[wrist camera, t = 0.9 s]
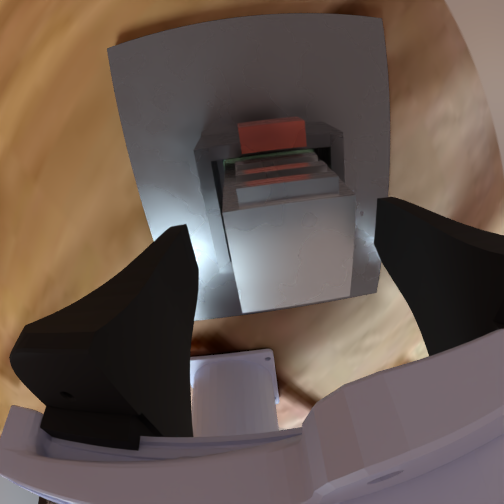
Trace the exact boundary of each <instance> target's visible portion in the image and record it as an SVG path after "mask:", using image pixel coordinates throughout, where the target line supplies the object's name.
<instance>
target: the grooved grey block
mask: <svg viewBox="0 0 504 504" xmlns="http://www.w3.org/2000/svg"><path fill="white" fill-rule="evenodd" d="M223 165H224V171H225V174H224V190H223V208H222V214H223V219H224V224H225V229H226V235H227V240H228V245H229V250H230V255H231V260H232V265H233V270H234V274H235V279H236V284H237V289H238V294H239V299H240V303H241V308H242V313H248V312H255V311H262V310H269V309H276V308H282V307H289V306H295V305H302V304H308V303H314V302H320V301H325V300H331V299H337V298H342V297H348V296H350V288H351V277H352V265H353V251H354V234H355V211H356V195H355V194H354V193H353V192H352V191H351V190H350V189H349V188H348V187H347V185H346V184H345V183H344V182H343V181H342V180H341V179H340V178H339V176H338V175H337V174H336V173H335V172H334V171H332V170H331V169H330V168H329V167H328V166H327V164H326V163H325V162H324V161H322V160H320V159H319V158H318V157H317V155H316V154H315V153H314V149H313V148H309V149H299V150H289V151H280V152H272V153H264V154H256V155H249V156H242V157H235V158H229V159H223Z"/></svg>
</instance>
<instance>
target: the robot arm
mask: <svg viewBox="0 0 504 504" xmlns="http://www.w3.org/2000/svg"><path fill="white" fill-rule="evenodd" d="M374 246H375V248H376V250H377V253H378V255H379V257H380V259H381V261H382V263H383V265H384V267H385V268H386V270H387V271H388V273H389V274H390V276H391V278H392V279H393V281H394V282H395V284H396V286H397V287H398V289H399V290H400V292H401V293H402V295H403V297H404V298H405V300H406V302H407V303H408V305H409V307H410V309H411V311H412V313H413V315H414V317H415V319H416V322H417V324H418V327H419V329H420V331H421V334H422V337H423V339H424V342H425V345H426V348H427V351H428V354H429V357H426V358H423V359H420V360H417V361H413V362H410V363H407V364H404V365H400V366H397V367H393V368H390V369H386V370H383V371H379V372H376V373H374V374H371V375H369V376H366V377H363V378H361V379H358V380H355V381H353V382H350V383H347V384H344V385H343V386H341V387H340V388H338V389H337V390H335V391H334V392H332V393H330V394H329V395H327V396H326V397H324V398H323V399H321V400H319V401H318V402H317V403H316V404H315V405H314V406H313V408H312V409H311V411H310V413H309V414H308V416H307V417H306V419H305V420H304V422H303V423H302V427H300V428H293V429H287V430H281V431H279V427H278V419H277V412H276V404H278V403H279V394H278V386H277V378H276V371H275V363H274V355H273V351H272V350H271V349H261V350H253V351H245V352H237V353H228V354H219V355H208V356H197V357H190V349H191V338H192V332H193V325H194V318H195V312H196V305H197V299H198V292H199V268H198V264H197V261H196V257H195V253H194V250H193V246H192V242H191V239H190V235H189V231H188V227H187V224H183V225H177V226H171V227H169V228H168V229H167V230H166V231H164V232H163V233H162V234H161V235H160V236H159V237H158V238H157V239H156V240H155V241H154V242H153V243H152V244H151V245H150V246H149V247H148V248H146V249H145V250H144V251H143V252H142V253H141V254H140V255H139V256H138V257H137V258H136V259H134V260H133V261H132V262H131V263H130V264H129V265H128V266H127V267H125V268H124V269H123V270H122V271H121V272H119V273H118V274H117V275H116V276H114V277H113V278H112V279H110V280H109V281H108V282H106V283H105V284H103V285H102V286H100V287H99V288H97V289H96V290H94V291H93V292H91V293H89V294H88V295H86V296H85V297H83V298H82V299H80V300H78V301H76V302H75V303H73V304H71V305H69V306H67V307H65V308H63V309H61V310H59V311H57V312H55V313H53V314H51V315H49V316H46V317H44V318H42V319H39V320H37V321H35V322H33V323H30V324H27V325H26V326H25V327H24V328H23V330H22V332H21V334H20V336H19V338H18V339H17V341H16V343H15V345H14V347H13V349H12V351H11V354H10V357H9V358H10V363H11V366H12V368H13V370H14V372H15V374H16V375H17V377H18V378H19V379H20V380H21V381H22V382H23V384H24V385H25V386H26V387H27V388H28V389H29V390H30V391H31V392H32V393H33V394H34V395H35V396H36V397H37V398H38V399H39V400H40V401H41V402H43V403H44V404H45V405H46V409H45V412H44V415H43V414H42V413H40V412H38V411H36V410H33V409H29V408H24V407H20V406H16V405H12V406H11V408H10V411H9V414H8V417H7V420H6V423H5V426H4V429H3V432H2V435H1V438H0V475H1V476H2V477H4V478H5V479H7V480H9V481H11V482H13V483H14V484H16V485H18V486H20V487H22V488H24V489H26V490H28V491H30V492H32V493H34V494H36V495H38V496H40V497H42V498H45V499H47V500H50V501H52V502H55V503H58V504H504V235H499V234H495V233H491V232H487V231H484V230H480V229H477V228H474V227H471V226H468V225H465V224H462V223H459V222H456V221H454V220H451V219H449V218H446V217H444V216H441V215H439V214H436V213H434V212H431V211H429V210H427V209H424V208H422V207H419V206H417V205H415V204H412V203H409V202H407V201H404V200H401V199H398V198H394V197H385V198H377V209H376V223H375V234H374ZM190 385H191V386H192V388H193V399H192V412H191V396H190V395H191V392H190Z"/></svg>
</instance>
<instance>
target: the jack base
mask: <svg viewBox="0 0 504 504" xmlns="http://www.w3.org/2000/svg"><path fill="white" fill-rule="evenodd" d="M107 52H108V58H109V64H110V70H111V76H112V81H113V86H114V92H115V97H116V102H117V106H118V111H119V116H120V120H121V125H122V129H123V133H124V137H125V142H126V146H127V150H128V154H129V158H130V161H131V165H132V169H133V173H134V176H135V180H136V184H137V187H138V191H139V194H140V198H141V201H142V205H143V208H144V211H145V214H146V218H147V221H148V224H149V227H150V230H151V234H152V237H153V240H154V241H155V240H156V239H157V238H158V237H159V236H160V235H161V234H162V233H163V232H164V231H166V230H167V229H168V228H169V227H171V226H177V225H183V224H187V227H188V231H189V235H190V239H191V242H192V246H193V250H194V253H195V257H196V261H197V264H198V268H199V292H198V299H197V305H196V312H195V318H194V321H197V320H206V319H215V318H223V317H231V316H239V315H246V314H254V313H261V312H268V311H275V310H281V309H288V308H294V307H300V306H307V305H313V304H318V303H324V302H330V301H336V300H341V299H346V298H352V297H357V296H362V295H367V294H372V293H377V287H378V280H379V274H380V267H381V259H380V257H379V255H378V253H377V250H376V248H375V246H374V234H375V223H376V209H377V198H385V197H388V187H389V166H390V102H389V82H388V68H387V56H386V46H385V37H384V30H383V22H382V18H375V17H367V16H357V15H344V14H324V13H288V14H268V15H255V16H245V17H236V18H228V19H221V20H215V21H209V22H203V23H198V24H193V25H188V26H183V27H178V28H174V29H170V30H166V31H162V32H158V33H154V34H151V35H147V36H144V37H140V38H137V39H134V40H131V41H127V42H124V43H121V44H118V45H116V46H113V47H110V48H107ZM309 148H313V149H314V153H315V154H316V155H317V157H318V158H319V159H320V160H322V161H324V162H325V163H326V164H327V166H328V167H329V168H330V169H331V170H332V171H334V172H335V173H336V174H337V175H338V176H339V178H340V179H341V180H342V181H343V182H344V183H345V184H346V185H347V187H348V188H349V189H350V190H351V191H352V192H353V193H354V194H355V195H356V211H355V234H354V251H353V265H352V277H351V288H350V296H348V297H342V298H337V299H331V300H325V301H320V302H314V303H308V304H302V305H295V306H289V307H282V308H276V309H269V310H262V311H255V312H248V313H242V308H241V303H240V299H239V294H238V289H237V284H236V279H235V274H234V270H233V265H232V260H231V255H230V250H229V245H228V240H227V235H226V229H225V224H224V219H223V214H222V208H223V190H224V174H225V171H224V165H223V159H229V158H235V157H242V156H249V155H256V154H264V153H272V152H280V151H289V150H299V149H309Z"/></svg>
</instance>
